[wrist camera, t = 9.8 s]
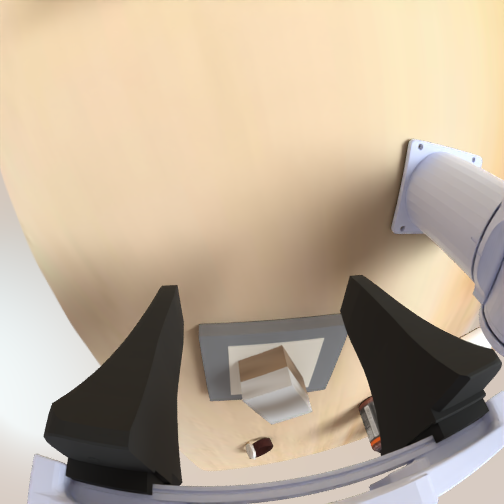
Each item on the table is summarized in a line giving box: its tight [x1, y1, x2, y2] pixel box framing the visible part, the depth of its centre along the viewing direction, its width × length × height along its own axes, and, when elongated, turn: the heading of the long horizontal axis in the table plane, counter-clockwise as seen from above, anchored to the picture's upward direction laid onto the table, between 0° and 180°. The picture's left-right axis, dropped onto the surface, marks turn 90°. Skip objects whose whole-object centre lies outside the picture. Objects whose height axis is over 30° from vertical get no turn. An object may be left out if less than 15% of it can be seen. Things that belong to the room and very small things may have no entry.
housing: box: [238, 345, 312, 424], centre depth 26 cm, size 7×4×4 cm, turn 24°
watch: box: [246, 438, 273, 460], centre depth 42 cm, size 8×5×4 cm, turn 165°
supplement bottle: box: [359, 397, 382, 456], centre depth 35 cm, size 6×6×11 cm
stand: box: [199, 314, 347, 401], centre depth 28 cm, size 14×12×2 cm
